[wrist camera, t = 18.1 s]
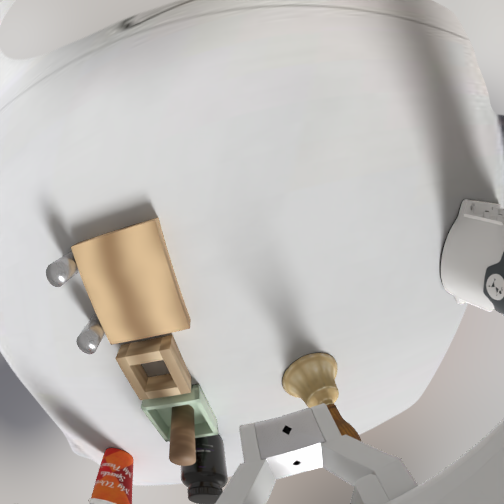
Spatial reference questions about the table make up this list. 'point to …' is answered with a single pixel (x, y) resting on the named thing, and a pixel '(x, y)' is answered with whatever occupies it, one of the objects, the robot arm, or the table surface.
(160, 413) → the tray
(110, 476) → the paper cup
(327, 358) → the hand bell
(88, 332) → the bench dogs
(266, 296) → the table surface
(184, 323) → the curved tan panel
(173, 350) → the socket block
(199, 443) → the supplement bottle
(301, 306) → the table surface
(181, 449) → the dowel
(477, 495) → the robot arm
